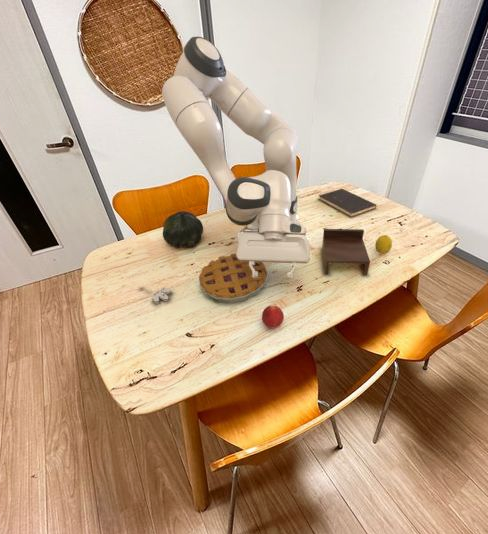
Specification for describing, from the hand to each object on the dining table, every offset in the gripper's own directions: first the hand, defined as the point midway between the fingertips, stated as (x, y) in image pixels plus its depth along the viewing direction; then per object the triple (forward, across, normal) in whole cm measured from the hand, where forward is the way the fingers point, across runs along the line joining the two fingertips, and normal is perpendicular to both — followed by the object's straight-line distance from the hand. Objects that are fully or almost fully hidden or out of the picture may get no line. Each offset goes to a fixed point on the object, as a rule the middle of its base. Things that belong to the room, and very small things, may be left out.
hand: (272, 278), depth 76 cm
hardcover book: (-42, +30, +57) cm, 77 cm away
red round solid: (+13, +1, +2) cm, 13 cm away
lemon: (-13, +38, +28) cm, 48 cm away
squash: (-15, -37, +31) cm, 51 cm away
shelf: (-9, +23, +24) cm, 34 cm away
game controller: (+6, -38, +10) cm, 39 cm away
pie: (+1, -14, +15) cm, 20 cm away
